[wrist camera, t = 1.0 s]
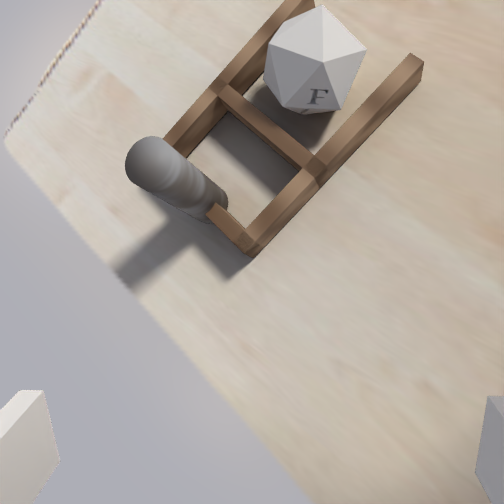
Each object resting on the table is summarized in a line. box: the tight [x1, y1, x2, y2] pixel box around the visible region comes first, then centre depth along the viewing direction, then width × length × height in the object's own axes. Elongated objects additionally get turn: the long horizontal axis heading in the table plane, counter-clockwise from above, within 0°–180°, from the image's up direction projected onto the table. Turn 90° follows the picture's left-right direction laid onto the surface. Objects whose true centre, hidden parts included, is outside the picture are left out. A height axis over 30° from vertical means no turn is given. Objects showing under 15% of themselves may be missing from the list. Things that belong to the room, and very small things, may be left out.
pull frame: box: [125, 0, 424, 258], centre depth 36 cm, size 24×15×12 cm, turn 134°
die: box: [263, 4, 367, 115], centre depth 37 cm, size 8×9×10 cm
